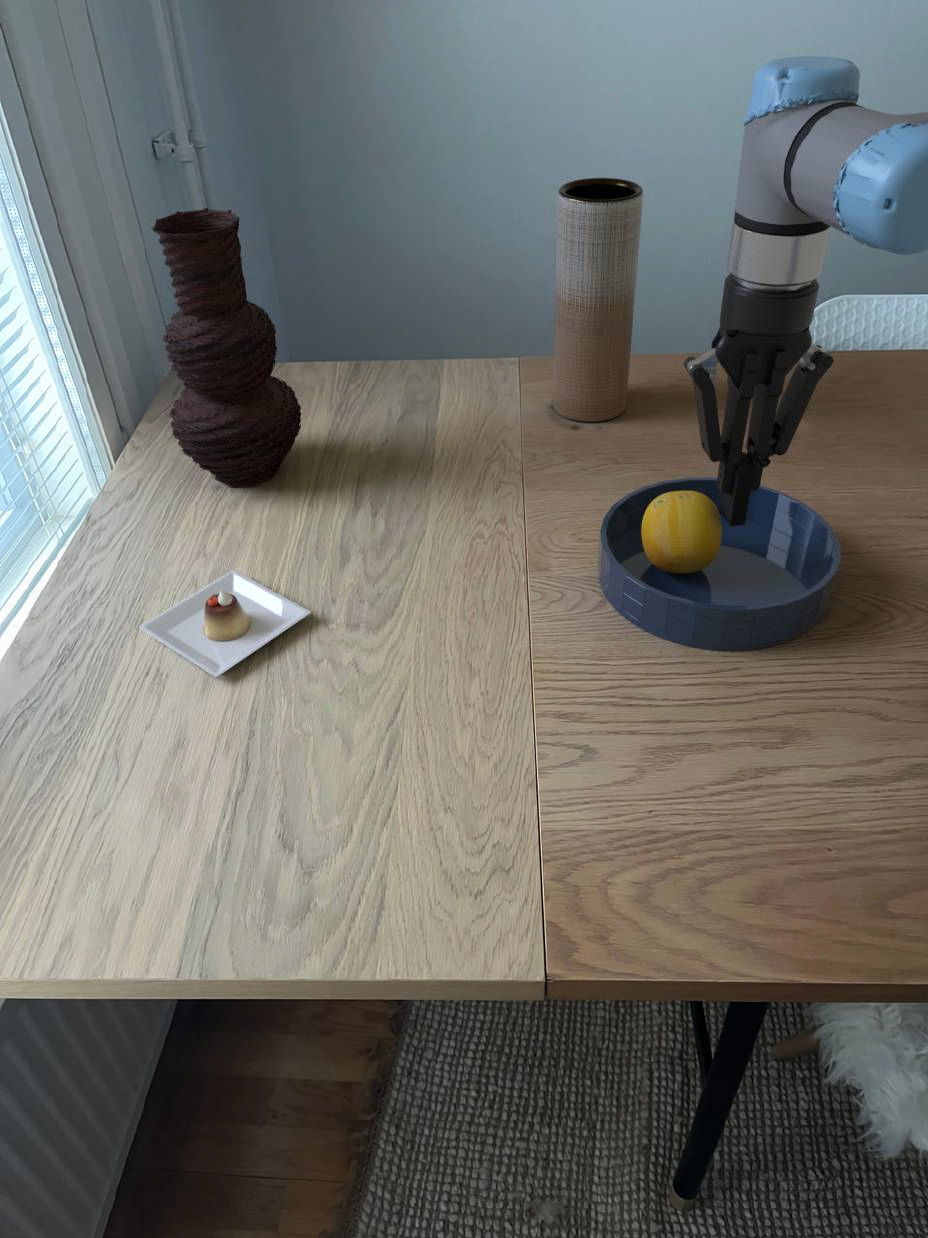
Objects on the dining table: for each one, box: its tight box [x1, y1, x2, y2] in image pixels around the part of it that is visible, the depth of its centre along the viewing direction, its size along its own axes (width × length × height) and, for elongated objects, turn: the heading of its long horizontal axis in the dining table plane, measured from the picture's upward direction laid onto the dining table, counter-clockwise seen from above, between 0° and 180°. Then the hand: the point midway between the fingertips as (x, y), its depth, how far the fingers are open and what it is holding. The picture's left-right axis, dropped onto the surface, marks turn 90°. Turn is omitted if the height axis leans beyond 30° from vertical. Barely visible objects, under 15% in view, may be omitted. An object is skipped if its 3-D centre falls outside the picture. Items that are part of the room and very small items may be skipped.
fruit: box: [641, 491, 722, 574], centre depth 95 cm, size 9×8×8 cm
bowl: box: [597, 476, 842, 652], centre depth 96 cm, size 23×23×5 cm
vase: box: [151, 207, 302, 488], centre depth 109 cm, size 15×15×30 cm
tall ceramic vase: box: [552, 177, 644, 423], centre depth 120 cm, size 10×10×28 cm
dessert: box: [138, 569, 312, 678], centre depth 92 cm, size 12×12×5 cm
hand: (732, 517), depth 93 cm, fingers closed
